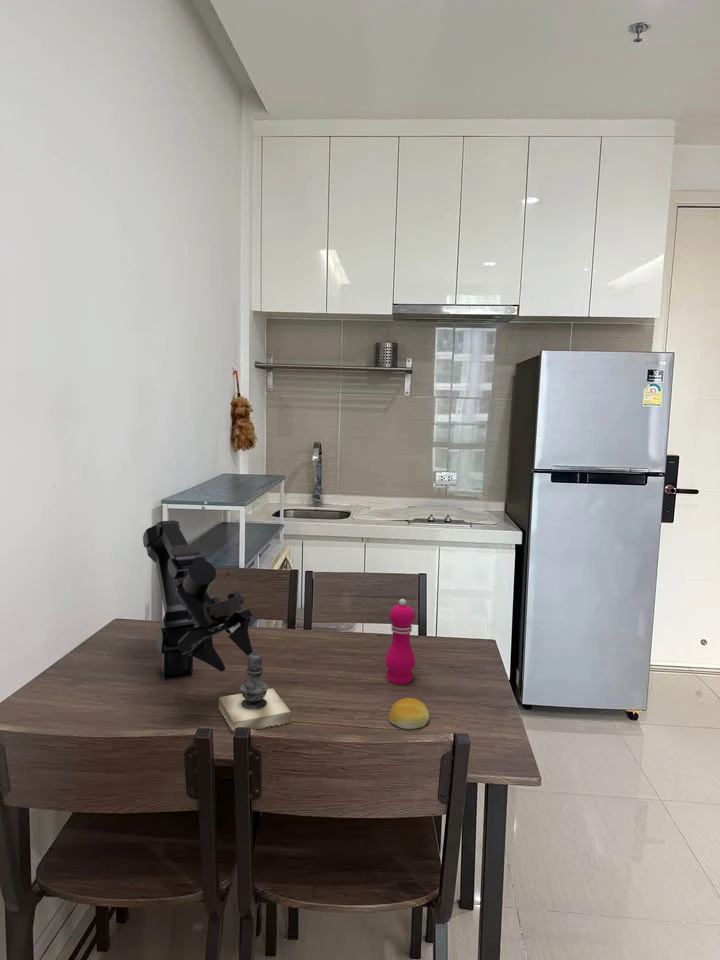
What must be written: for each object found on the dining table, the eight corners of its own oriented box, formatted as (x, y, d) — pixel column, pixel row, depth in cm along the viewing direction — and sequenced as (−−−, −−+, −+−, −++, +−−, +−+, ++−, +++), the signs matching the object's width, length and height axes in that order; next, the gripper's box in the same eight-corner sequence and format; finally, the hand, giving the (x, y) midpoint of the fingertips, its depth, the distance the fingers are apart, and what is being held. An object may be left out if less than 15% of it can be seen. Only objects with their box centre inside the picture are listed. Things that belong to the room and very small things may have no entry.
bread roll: (385, 727, 133) (386, 709, 132) (394, 708, 141) (394, 691, 141) (425, 733, 131) (426, 715, 130) (431, 714, 139) (432, 696, 139)
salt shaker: (262, 711, 132) (263, 655, 131) (235, 708, 133) (236, 652, 132) (272, 699, 138) (273, 645, 137) (246, 696, 139) (246, 642, 138)
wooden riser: (233, 734, 128) (233, 722, 127) (218, 708, 138) (218, 697, 138) (290, 723, 133) (290, 711, 133) (272, 699, 144) (272, 688, 143)
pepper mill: (378, 678, 157) (381, 598, 154) (397, 670, 162) (400, 592, 160) (401, 687, 152) (404, 605, 150) (420, 679, 157) (423, 599, 155)
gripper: (188, 592, 129) (230, 657, 125) (247, 573, 146) (286, 629, 142) (159, 622, 134) (199, 686, 130) (219, 600, 150) (256, 656, 146)
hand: (238, 663), depth 137 cm, fingers open, 9 cm apart
